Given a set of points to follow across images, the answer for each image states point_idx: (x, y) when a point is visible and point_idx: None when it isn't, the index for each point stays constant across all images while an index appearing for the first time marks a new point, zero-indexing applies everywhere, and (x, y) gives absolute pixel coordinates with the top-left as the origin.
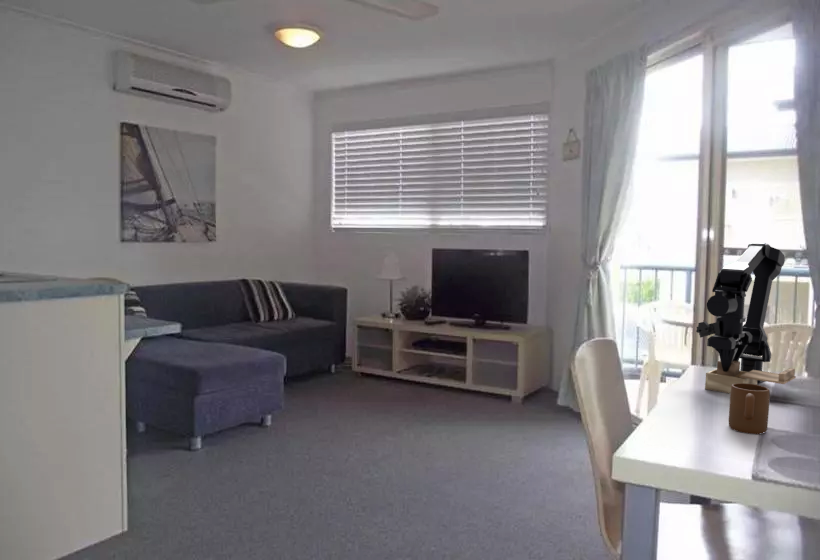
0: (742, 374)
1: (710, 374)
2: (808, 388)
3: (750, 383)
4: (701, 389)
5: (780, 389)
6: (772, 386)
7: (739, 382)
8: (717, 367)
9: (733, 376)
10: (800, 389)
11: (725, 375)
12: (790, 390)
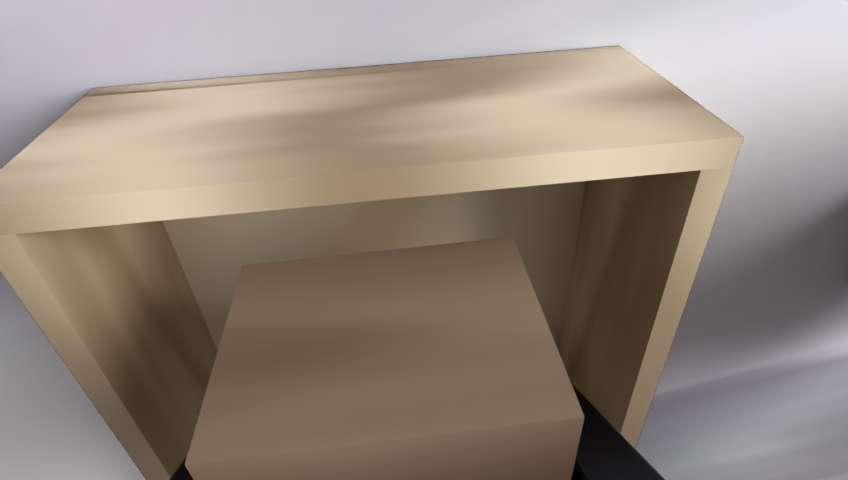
0: (614, 372)
1: (9, 267)
2: (835, 464)
3: None
4: (32, 61)
5: (698, 416)
6: (781, 365)
7: None
8: (220, 351)
9: (614, 269)
10: (775, 458)
11: (634, 181)
12: (704, 447)
